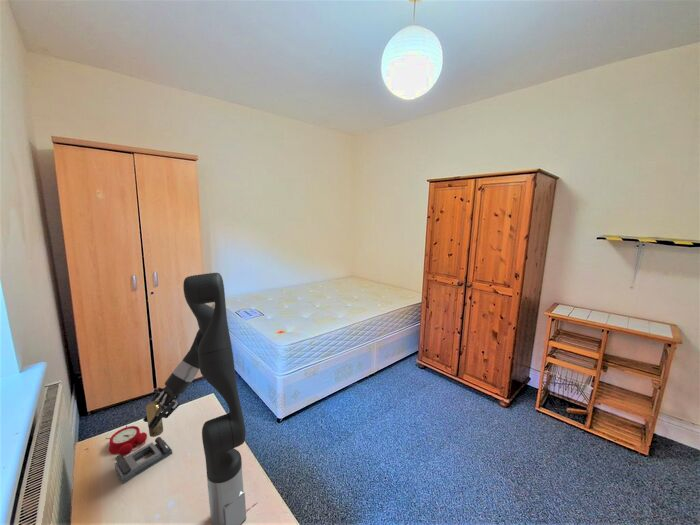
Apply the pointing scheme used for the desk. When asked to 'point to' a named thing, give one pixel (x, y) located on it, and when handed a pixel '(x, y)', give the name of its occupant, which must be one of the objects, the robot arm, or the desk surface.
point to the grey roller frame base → (128, 465)
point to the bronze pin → (151, 413)
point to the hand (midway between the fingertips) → (148, 424)
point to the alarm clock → (126, 440)
